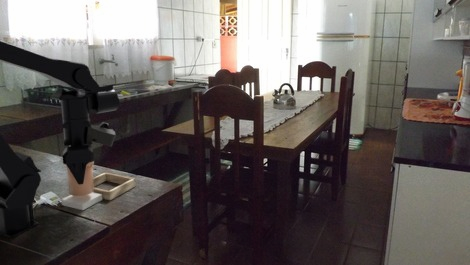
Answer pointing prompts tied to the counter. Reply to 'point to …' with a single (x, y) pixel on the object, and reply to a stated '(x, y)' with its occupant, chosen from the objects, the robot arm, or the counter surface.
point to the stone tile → (82, 200)
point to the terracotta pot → (86, 186)
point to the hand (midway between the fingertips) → (80, 179)
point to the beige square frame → (123, 180)
